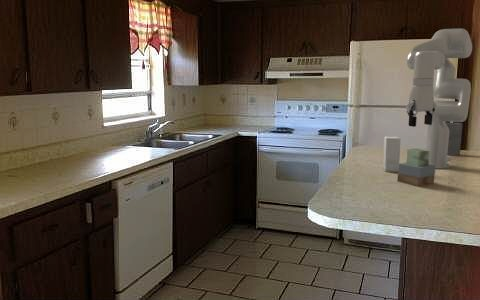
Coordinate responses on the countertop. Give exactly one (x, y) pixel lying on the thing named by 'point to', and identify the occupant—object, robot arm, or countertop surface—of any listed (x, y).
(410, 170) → the slab top
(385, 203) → the countertop surface
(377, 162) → the countertop surface
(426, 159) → the sage block
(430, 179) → the slab bottom
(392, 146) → the skincare box
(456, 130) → the dark grey upright block
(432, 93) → the robot arm
